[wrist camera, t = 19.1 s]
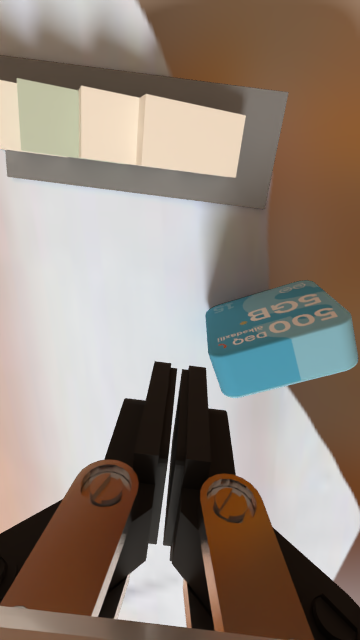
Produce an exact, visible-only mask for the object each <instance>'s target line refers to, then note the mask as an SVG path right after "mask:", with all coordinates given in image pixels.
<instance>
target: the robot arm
mask: <svg viewBox="0 0 360 640" xmlns="http://www.w3.org/2000/svg"><path fill="white" fill-rule="evenodd" d="M176 375H177V369H176V368H171V363H164V362H156V361H155V363H154V367H153V371H152V376H151V380H150V385H149V389H148V393H147V398H146V401H144V400H136V399H127V398H125V399H124V402H123V405H122V408H121V411H120V414H119V417H118V420H117V423H116V426H115V429H114V432H113V435H112V438H111V441H110V444H109V447H108V450H107V453H106V456H105V460H100V461H97V462H94V463H92V464H90V465H88V466H87V467H85V468H84V469H82V471H81V472H80V473H79V474H78V475H77V477H76V478H75V480H74V482H73V483H72V485H71V487H70V488H69V490H68V492H67V493H66V495H65V497H64V498H63V499H62V500H60V501H59V502H57V503H55V504H53V505H51V506H50V507H48V508H46V509H44V510H42V511H41V512H39V513H37V514H35V515H33V516H31V517H30V518H28V519H26V520H24V521H22V522H21V523H19V524H17V525H15V526H13V527H12V528H10V529H8V530H6V531H4V532H3V533H1V534H0V640H360V607H359V606H358V605H357V604H356V603H355V602H354V601H353V599H351V597H350V596H349V595H348V594H347V593H345V591H343V590H342V589H341V588H340V587H339V586H337V584H336V583H334V582H333V581H332V580H331V579H330V578H329V577H328V576H327V575H325V574H324V573H323V572H322V571H321V570H320V569H319V568H318V567H317V566H315V565H314V564H313V563H312V562H311V561H310V560H309V559H308V558H306V557H305V556H304V555H303V554H302V553H301V552H300V551H299V550H297V549H296V548H295V547H294V546H293V545H292V544H291V543H290V542H289V541H287V540H286V539H285V538H284V537H283V536H282V535H281V534H280V533H278V532H277V531H276V530H275V529H274V528H273V527H272V525H271V522H270V519H269V517H268V514H267V511H266V509H265V506H264V503H263V500H262V498H261V496H260V495H259V493H258V491H257V490H256V489H255V488H254V487H253V485H252V484H251V483H249V482H248V481H246V480H245V479H243V478H241V477H238V476H236V474H235V467H234V460H233V452H232V445H231V438H230V430H229V423H228V416H227V412H226V411H224V410H216V409H208V397H207V379H206V368H204V367H196V366H189V369H188V370H184V369H182V374H181V382H180V389H179V396H178V403H177V410H176V418H175V425H174V432H173V440H172V450H171V461H170V473H169V484H168V495H167V506H166V517H165V528H164V540H163V545H166V546H171V551H170V561H172V564H173V566H174V567H175V568H176V569H177V571H178V572H179V573H180V574H181V576H182V577H183V595H184V605H185V615H186V625H187V628H185V627H176V626H168V625H160V624H152V623H143V622H135V621H126V620H118V615H119V612H120V609H121V606H122V602H123V599H124V596H125V593H126V589H127V586H128V583H129V577H130V573H131V572H132V571H133V570H135V569H136V568H137V567H138V566H140V565H141V564H142V563H143V562H144V561H146V557H147V549H148V543H149V544H157V537H158V530H159V522H160V515H161V508H162V500H163V493H164V485H165V478H166V471H167V463H168V455H169V446H170V435H171V425H172V415H173V405H174V395H175V385H176Z"/></svg>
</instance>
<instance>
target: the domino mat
mask: <svg viewBox="0 0 360 640" xmlns="http://www.w3.org/2000/svg"><path fill="white" fill-rule="evenodd" d="M17 78H19V79H24V80H29V81H34V82H39V83H44V84H49V85H54V86H59V87H64V88H69V89H74V90H79V88H80V87H81V86H86V87H90V88H95V89H100V90H105V91H110V92H114V93H119V94H124V95H129V96H133V97H138V98H140V97H142V96H143V95H145V94H149V95H153V96H158V97H163V98H167V99H172V100H177V101H181V102H186V103H190V104H195V105H200V106H204V107H209V108H213V109H218V110H223V111H227V112H232V113H237V114H241V115H246V118H245V124H244V130H243V136H242V142H241V149H240V155H239V161H238V167H237V173H236V178H234V177H223V176H215V175H208V174H200V173H193V172H185V171H178V170H169V169H161V168H153V167H146V166H138V165H131V164H118V163H111V162H103V161H95V160H88V159H80V158H73V157H59V156H52V155H44V154H36V153H28V152H21V151H13V150H5V151H6V164H7V177H14V178H22V179H30V180H38V181H46V182H54V183H61V184H69V185H77V186H85V187H93V188H101V189H109V190H117V191H124V192H132V193H140V194H148V195H156V196H164V197H172V198H180V199H187V200H195V201H203V202H211V203H219V204H227V205H235V206H243V207H250V208H258V209H265V205H266V200H267V195H268V190H269V185H270V180H271V175H272V170H273V165H274V160H275V156H276V151H277V146H278V141H279V136H280V131H281V126H282V121H283V117H284V112H285V107H286V102H287V97H288V92H282V91H275V90H266V89H259V88H251V87H244V86H236V85H228V84H220V83H211V82H204V81H197V80H189V79H181V78H174V77H166V76H158V75H150V74H143V73H135V72H127V71H119V70H112V69H104V68H96V67H88V66H80V65H73V64H65V63H57V62H49V61H42V60H34V59H26V58H18V57H11V56H3V55H0V80H3V81H8V82H13V83H17Z"/></svg>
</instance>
